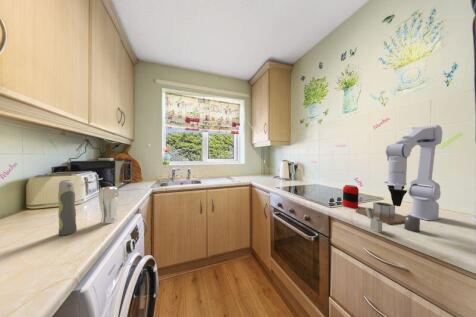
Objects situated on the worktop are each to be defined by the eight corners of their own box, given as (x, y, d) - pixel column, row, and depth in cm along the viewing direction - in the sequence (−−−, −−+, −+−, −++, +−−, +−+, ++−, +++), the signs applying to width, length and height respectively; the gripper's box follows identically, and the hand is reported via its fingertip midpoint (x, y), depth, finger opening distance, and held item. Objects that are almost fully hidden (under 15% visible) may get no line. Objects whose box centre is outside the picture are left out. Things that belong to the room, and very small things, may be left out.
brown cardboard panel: (379, 210, 95) (379, 199, 95) (415, 221, 80) (415, 208, 79) (355, 212, 91) (356, 200, 91) (388, 224, 76) (388, 210, 76)
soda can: (343, 203, 107) (343, 184, 106) (358, 205, 102) (358, 185, 102) (342, 206, 101) (342, 186, 100) (357, 209, 96) (358, 187, 96)
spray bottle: (61, 237, 62) (59, 182, 62) (56, 234, 65) (55, 180, 64) (78, 231, 67) (77, 180, 66) (73, 229, 69) (72, 179, 68)
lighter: (382, 233, 68) (383, 212, 67) (377, 232, 68) (378, 212, 67) (368, 225, 75) (369, 207, 75) (364, 225, 75) (365, 207, 75)
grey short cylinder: (409, 226, 74) (409, 215, 73) (422, 231, 69) (422, 219, 69) (401, 227, 73) (402, 216, 72) (414, 232, 68) (414, 220, 68)
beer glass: (122, 220, 79) (122, 187, 78) (105, 225, 72) (104, 190, 72) (113, 217, 81) (112, 185, 81) (96, 222, 75) (95, 188, 75)
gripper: (384, 170, 82) (383, 198, 82) (385, 172, 70) (384, 205, 71) (405, 171, 77) (403, 201, 78) (409, 174, 66) (408, 209, 67)
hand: (395, 203), depth 74 cm, fingers open, 7 cm apart
